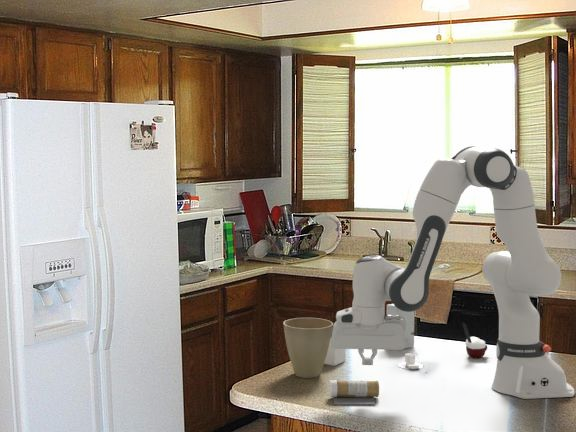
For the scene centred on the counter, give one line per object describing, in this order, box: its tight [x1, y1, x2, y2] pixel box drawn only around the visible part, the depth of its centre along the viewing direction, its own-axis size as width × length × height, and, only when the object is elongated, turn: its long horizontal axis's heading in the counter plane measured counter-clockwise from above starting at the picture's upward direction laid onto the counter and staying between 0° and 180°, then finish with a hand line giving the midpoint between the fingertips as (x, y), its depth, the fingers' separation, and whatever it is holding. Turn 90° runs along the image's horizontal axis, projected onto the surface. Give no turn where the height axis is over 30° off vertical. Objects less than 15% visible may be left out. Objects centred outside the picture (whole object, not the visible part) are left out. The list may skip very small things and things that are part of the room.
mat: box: [333, 397, 376, 407], centre depth 233 cm, size 11×17×1 cm, turn 178°
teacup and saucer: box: [397, 352, 424, 370], centre depth 264 cm, size 9×8×4 cm
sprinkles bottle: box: [328, 379, 380, 398], centre depth 231 cm, size 5×5×14 cm
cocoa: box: [461, 322, 488, 360], centre depth 274 cm, size 10×6×12 cm, turn 94°
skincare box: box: [386, 303, 416, 350], centre depth 288 cm, size 8×6×15 cm
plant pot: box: [282, 317, 334, 379], centre depth 254 cm, size 15×15×16 cm
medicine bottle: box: [323, 323, 346, 367], centre depth 268 cm, size 7×7×12 cm
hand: (367, 364), depth 231 cm, fingers closed
